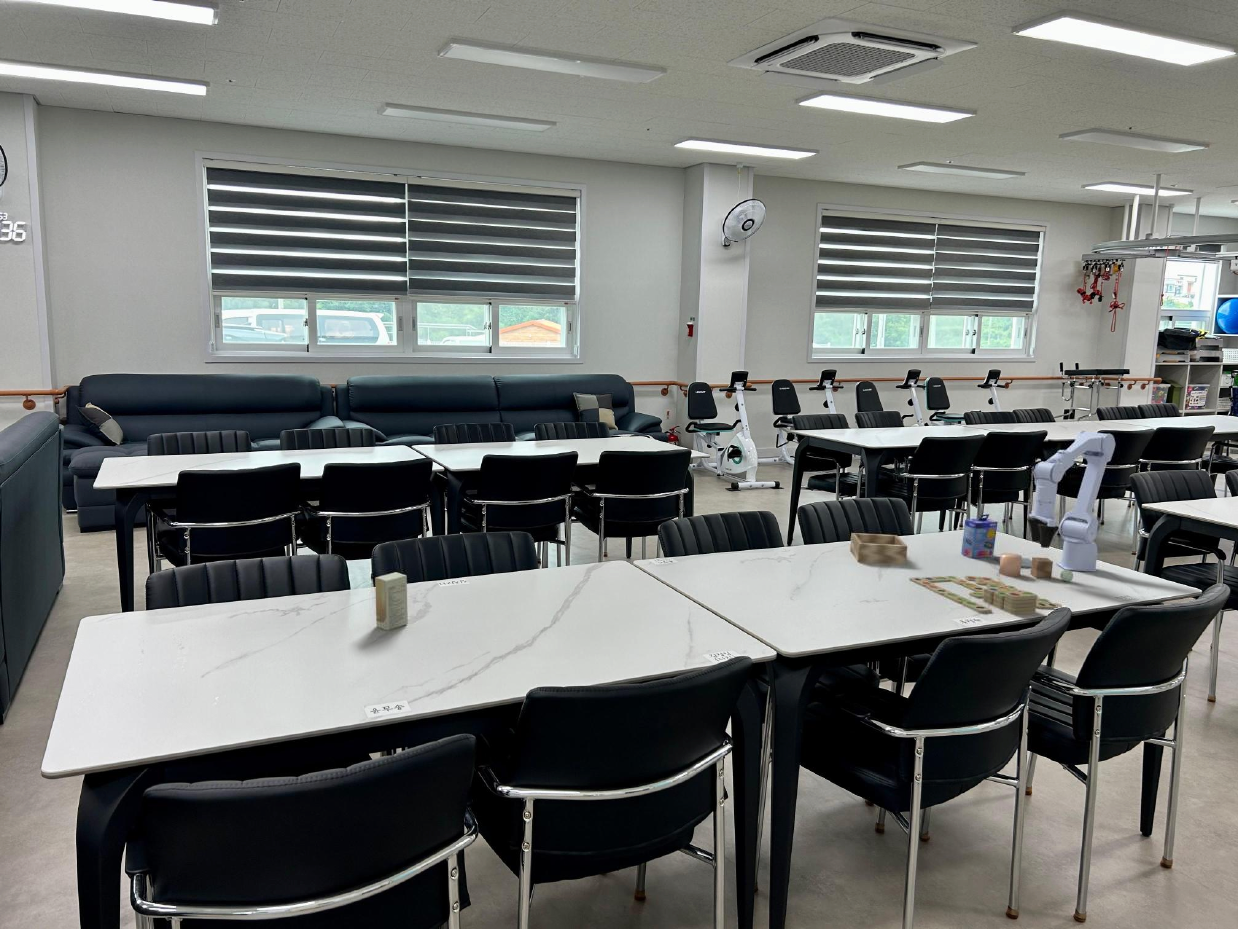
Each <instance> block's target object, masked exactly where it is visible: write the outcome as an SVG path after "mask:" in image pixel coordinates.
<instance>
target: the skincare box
mask: <svg viewBox="0 0 1238 929" xmlns="http://www.w3.org/2000/svg"><path fill="white" fill-rule="evenodd" d="M407 578H408V577H407V575H406V574H403V573H400V572H391V573H386V574H383V575H380V576H377V577H375V579H374V581H375V586H374V587H375V616H376V617H375V619H376V620H375V621H376V622H375V623H376V624H375V625H376V627H378V628H380V629H382V630H385V631H389V630H394V629H395V628H396V629H397V628H399V627H403V626H405V625H408V624H409V623H408V622H409V621H408V620H409V619H408V613H409V612H408V580H407Z"/></svg>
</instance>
